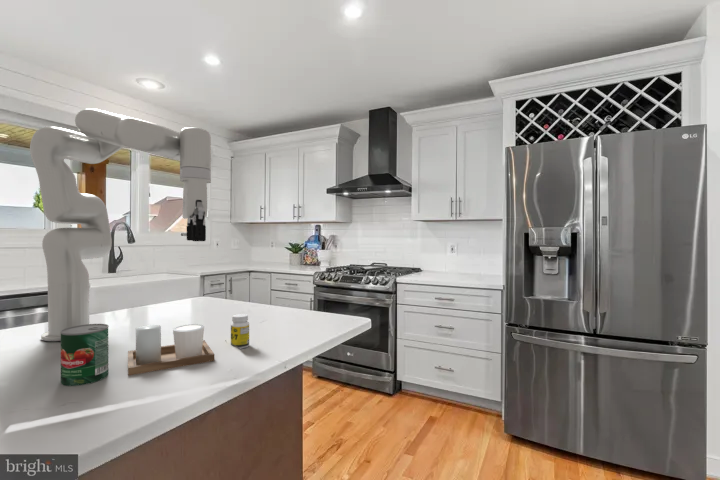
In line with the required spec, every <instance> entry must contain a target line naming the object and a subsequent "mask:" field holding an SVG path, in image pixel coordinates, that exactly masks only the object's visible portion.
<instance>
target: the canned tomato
mask: <svg viewBox="0 0 720 480" xmlns="http://www.w3.org/2000/svg"><path fill="white" fill-rule="evenodd" d="M109 327H110V326H109V325H108V324H105V323H89V324H86V325H79V326H73V327H69V328H66V329H63V330H61V332H60V333H61V341H60V384H61V385H62V386H66V387H77V386H84V385H90V384H92V383H96V382H99V381H102V380H104V379H105V378H107V377H108V376H109Z"/></svg>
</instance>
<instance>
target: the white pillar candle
mask: <svg viewBox="0 0 720 480" xmlns="http://www.w3.org/2000/svg"><path fill="white" fill-rule="evenodd" d="M161 346H162V326H161V325H159V324H148V325H142V326H138V327H136V328H135V350H136V365H142V364H148V363H154V362H161Z"/></svg>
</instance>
